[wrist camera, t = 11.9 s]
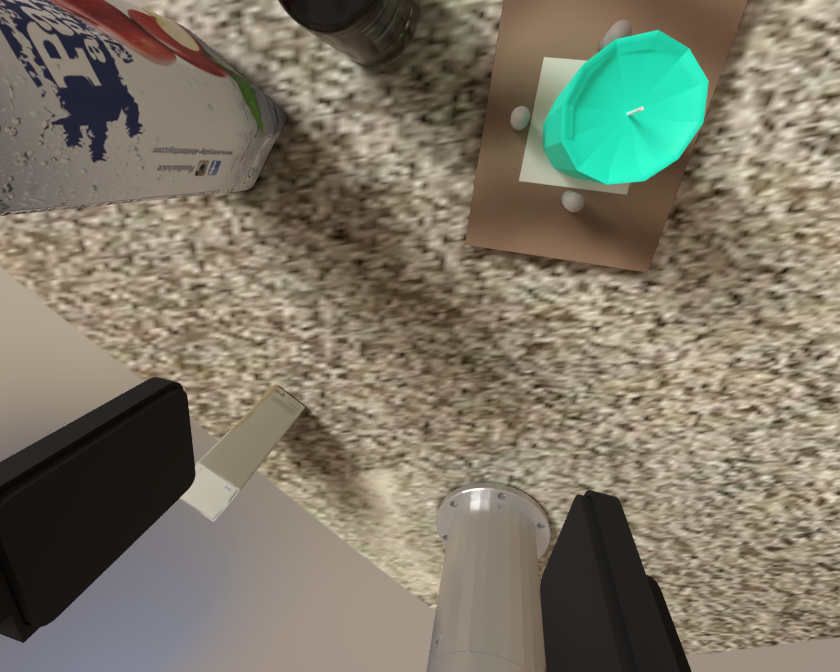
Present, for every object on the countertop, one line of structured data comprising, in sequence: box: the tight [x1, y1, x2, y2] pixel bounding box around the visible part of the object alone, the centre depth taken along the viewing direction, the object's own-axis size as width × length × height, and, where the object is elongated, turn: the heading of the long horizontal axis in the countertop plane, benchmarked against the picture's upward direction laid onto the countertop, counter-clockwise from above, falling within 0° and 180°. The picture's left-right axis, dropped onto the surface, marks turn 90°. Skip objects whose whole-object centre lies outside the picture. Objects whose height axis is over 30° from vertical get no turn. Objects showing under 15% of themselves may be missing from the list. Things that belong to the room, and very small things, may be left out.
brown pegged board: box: [465, 0, 748, 272], centre depth 26 cm, size 18×14×4 cm
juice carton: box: [0, 0, 287, 216], centre depth 20 cm, size 9×10×27 cm
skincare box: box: [180, 385, 305, 521], centre depth 39 cm, size 6×4×12 cm
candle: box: [543, 30, 709, 185], centre depth 21 cm, size 6×6×12 cm
